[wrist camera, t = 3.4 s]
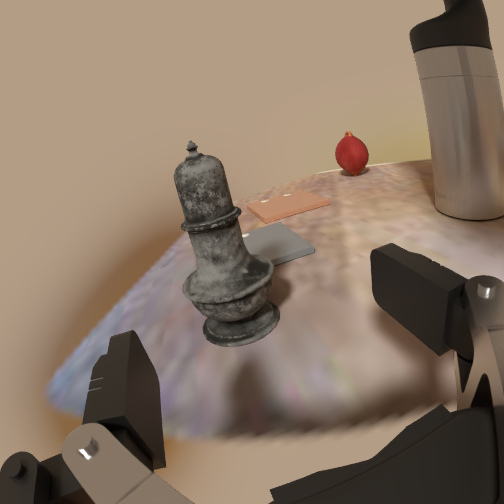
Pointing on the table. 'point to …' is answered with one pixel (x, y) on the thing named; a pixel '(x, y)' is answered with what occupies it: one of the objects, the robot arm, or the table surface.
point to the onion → (351, 154)
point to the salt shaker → (222, 257)
